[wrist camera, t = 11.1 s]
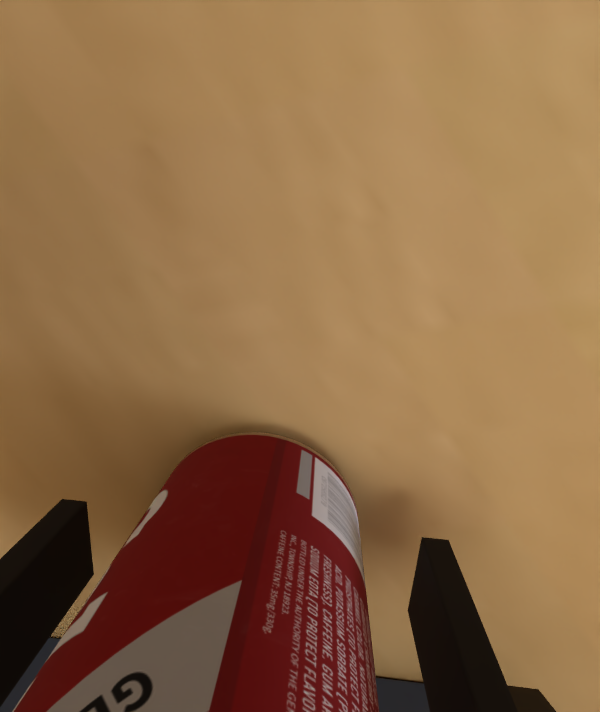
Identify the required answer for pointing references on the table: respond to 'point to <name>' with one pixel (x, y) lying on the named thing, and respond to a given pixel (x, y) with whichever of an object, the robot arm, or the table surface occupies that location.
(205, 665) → the soda can
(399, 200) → the table surface
